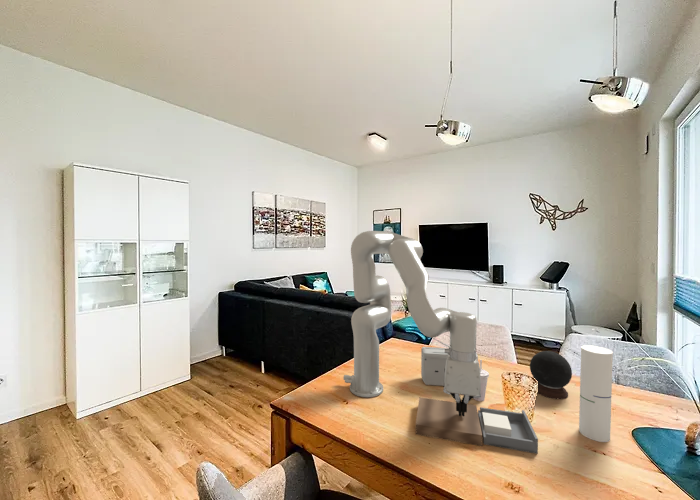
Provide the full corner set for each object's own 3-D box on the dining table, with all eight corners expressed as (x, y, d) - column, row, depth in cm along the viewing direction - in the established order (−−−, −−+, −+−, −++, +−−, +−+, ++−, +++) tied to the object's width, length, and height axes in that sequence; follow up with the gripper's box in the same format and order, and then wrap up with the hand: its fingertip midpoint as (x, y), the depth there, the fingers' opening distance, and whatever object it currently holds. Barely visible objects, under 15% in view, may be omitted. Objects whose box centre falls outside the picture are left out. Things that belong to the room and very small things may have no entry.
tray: (483, 444, 85) (484, 430, 85) (478, 416, 99) (478, 403, 99) (537, 453, 82) (538, 439, 81) (523, 423, 95) (524, 410, 95)
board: (415, 434, 90) (415, 424, 90) (419, 405, 105) (419, 397, 105) (482, 446, 85) (482, 435, 84) (476, 414, 100) (476, 405, 100)
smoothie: (490, 404, 106) (491, 364, 106) (470, 402, 107) (471, 362, 107) (486, 394, 112) (486, 357, 112) (467, 393, 114) (468, 355, 113)
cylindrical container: (612, 445, 85) (615, 355, 84) (580, 436, 89) (582, 350, 88) (607, 431, 91) (610, 348, 90) (577, 423, 95) (579, 343, 94)
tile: (484, 433, 89) (484, 424, 89) (482, 419, 96) (482, 411, 96) (511, 438, 87) (511, 429, 87) (507, 424, 94) (507, 416, 94)
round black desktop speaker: (565, 405, 106) (566, 361, 105) (523, 390, 116) (524, 351, 115) (575, 392, 114) (576, 352, 114) (536, 380, 124) (537, 343, 124)
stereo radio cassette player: (474, 381, 124) (475, 331, 123) (479, 391, 115) (480, 338, 115) (421, 377, 127) (421, 329, 127) (422, 386, 119) (422, 335, 118)
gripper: (436, 356, 91) (435, 416, 92) (491, 362, 87) (489, 425, 88) (436, 347, 99) (436, 403, 99) (487, 352, 94) (486, 411, 95)
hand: (461, 413), depth 94 cm, fingers closed
